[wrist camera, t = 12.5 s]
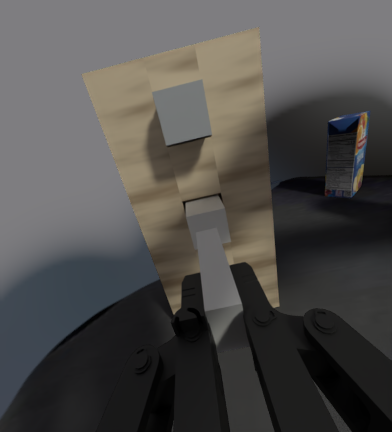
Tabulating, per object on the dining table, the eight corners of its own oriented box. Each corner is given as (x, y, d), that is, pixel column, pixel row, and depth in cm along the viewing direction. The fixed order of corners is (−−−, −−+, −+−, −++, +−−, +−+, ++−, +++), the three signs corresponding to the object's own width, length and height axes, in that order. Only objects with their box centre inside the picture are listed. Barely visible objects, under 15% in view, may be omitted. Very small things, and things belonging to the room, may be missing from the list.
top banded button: (169, 144, 23) (157, 99, 21) (208, 135, 23) (199, 88, 21) (165, 147, 18) (149, 90, 17) (213, 135, 18) (203, 76, 16)
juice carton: (336, 184, 74) (340, 115, 65) (361, 185, 69) (370, 110, 59) (324, 196, 68) (327, 121, 58) (351, 198, 62) (359, 116, 53)
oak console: (179, 286, 44) (114, 92, 29) (259, 269, 43) (234, 61, 28) (178, 327, 34) (81, 74, 19) (279, 306, 34) (259, 27, 19)
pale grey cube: (193, 230, 28) (185, 202, 26) (223, 223, 28) (217, 194, 26) (194, 249, 23) (185, 216, 21) (231, 241, 23) (224, 208, 21)
